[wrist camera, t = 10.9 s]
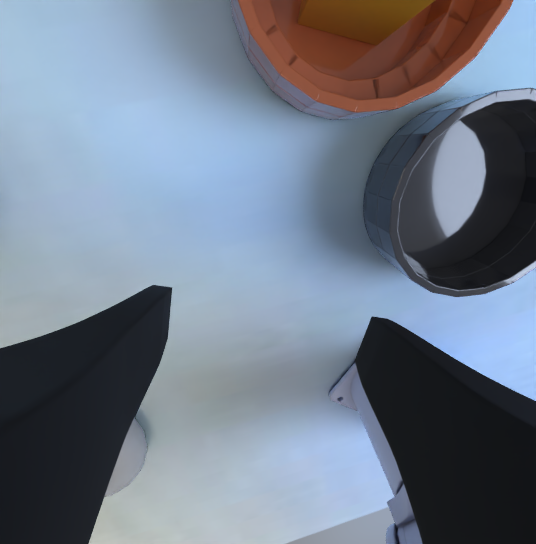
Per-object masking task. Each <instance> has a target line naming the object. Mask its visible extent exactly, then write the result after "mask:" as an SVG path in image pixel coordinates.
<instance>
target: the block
mask: <svg viewBox="0 0 536 544" xmlns="http://www.w3.org/2000/svg"><path fill="white" fill-rule="evenodd" d="M434 1H435V0H302V1H301V6H300V12H299V17H298V24H300V25H304V26H307V27H311V28H315V29H318V30H322V31H326V32H329V33H333V34H337V35H340V36H344V37H347V38H351V39H355V40H358V41H362V42H366V43H369V44H373V45H378V44H379V43H381V42H382V41H383V40H384V39H386V38H387V37H388V36H390V35H391V34H392V33H393V32H395V31H396V30H397V29H399V28H400V27H401V26H403V25H404V24H405V23H406V22H408V21H409V20H410V19H412V18H413V17H414V16H416V15H417V14H418V13H419V12H421V11H422V10H423V9H425V8H426V7H427V6H429V5H430V4H431V3H432V2H434Z"/></svg>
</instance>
